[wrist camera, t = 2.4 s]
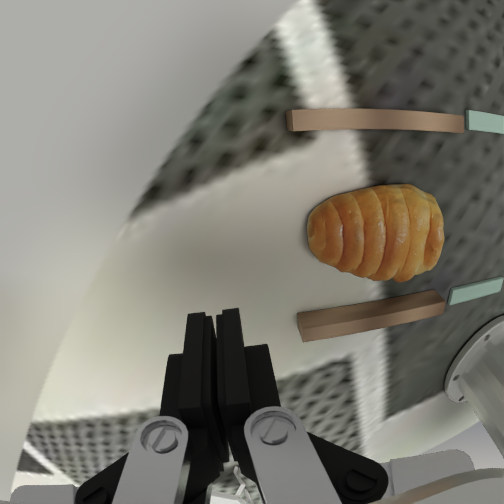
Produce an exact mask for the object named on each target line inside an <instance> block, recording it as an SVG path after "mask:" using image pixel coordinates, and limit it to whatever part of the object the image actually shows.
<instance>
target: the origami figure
mask: <svg viewBox="0 0 504 504" xmlns="http://www.w3.org/2000/svg"><path fill="white" fill-rule="evenodd" d="M237 469H238V467H236V466H235V468H234V474H235V476H236V478H237V479H238V481H239V483H240V484H241V486H240V487H239V489H238V491H237V493H236V494H235V495H232V494H227V493H222V492H218V491H213V490H212V492H211V499H210V504H253V502H252V500H251V497H250V495H249V493H248V491H247V490H246V489H245V488H244V487H245V485H246V484H245V483H244V482H243V481H242V479H241V478H240V477H239V476H238V474H237ZM243 490H244V492H245V495H246V498H247V502H248V503H247V502H246V501H244V500H243V499H241V498H240V497H239V496H240V495H241V493H242V491H243Z"/></svg>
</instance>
